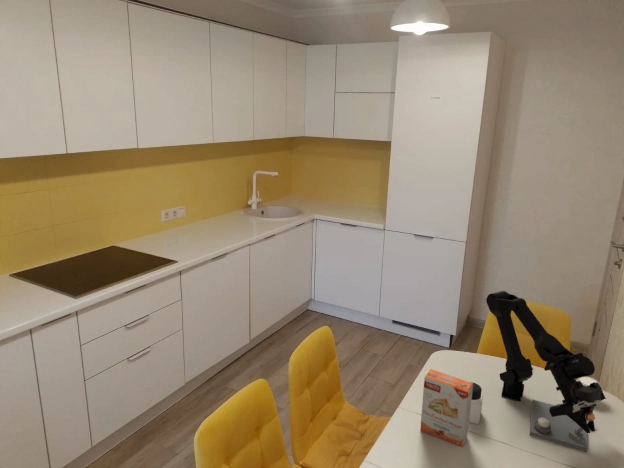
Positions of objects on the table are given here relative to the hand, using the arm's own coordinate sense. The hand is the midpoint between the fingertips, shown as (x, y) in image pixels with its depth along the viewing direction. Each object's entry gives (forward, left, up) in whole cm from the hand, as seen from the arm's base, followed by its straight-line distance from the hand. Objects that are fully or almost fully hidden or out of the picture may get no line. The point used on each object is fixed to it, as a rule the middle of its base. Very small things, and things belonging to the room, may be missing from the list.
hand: (591, 432), depth 139 cm
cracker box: (-41, -13, -7) cm, 44 cm away
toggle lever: (-3, +3, -4) cm, 6 cm away
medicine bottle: (-35, 0, -7) cm, 36 cm away
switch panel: (-8, +8, -7) cm, 13 cm away
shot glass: (+1, +29, -7) cm, 30 cm away
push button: (-13, +2, -4) cm, 13 cm away
